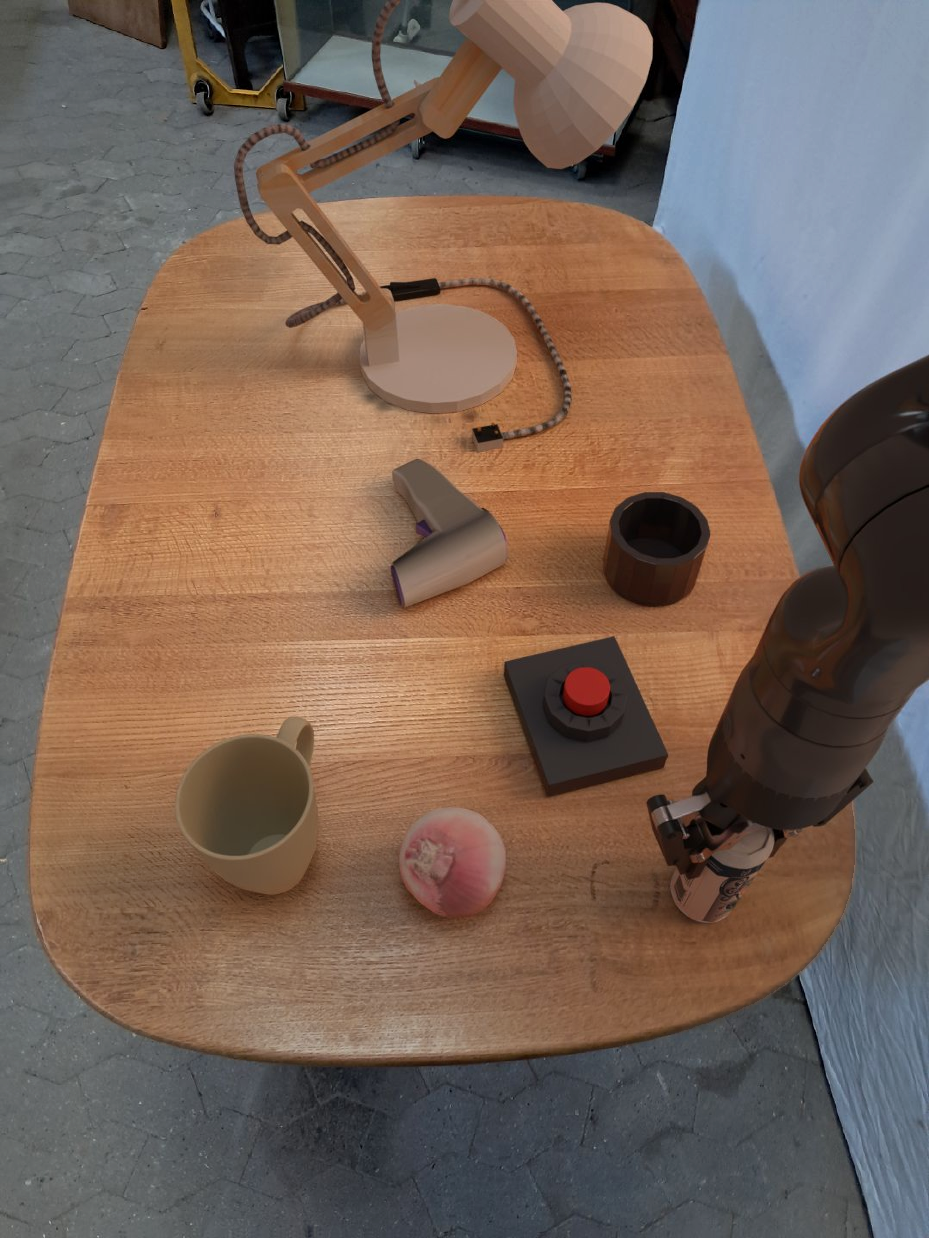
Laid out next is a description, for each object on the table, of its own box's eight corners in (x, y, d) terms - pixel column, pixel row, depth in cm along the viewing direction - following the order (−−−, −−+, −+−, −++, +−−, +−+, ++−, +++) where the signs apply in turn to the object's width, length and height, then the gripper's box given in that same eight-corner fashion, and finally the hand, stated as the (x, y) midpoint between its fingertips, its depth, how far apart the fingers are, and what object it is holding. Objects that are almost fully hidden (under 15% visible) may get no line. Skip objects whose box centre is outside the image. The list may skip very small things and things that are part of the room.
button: (614, 710, 73) (616, 699, 71) (571, 721, 72) (573, 709, 71) (598, 674, 75) (600, 662, 73) (556, 684, 74) (558, 672, 73)
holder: (715, 569, 86) (729, 526, 81) (657, 623, 82) (669, 581, 77) (641, 521, 90) (651, 477, 85) (583, 570, 86) (590, 527, 81)
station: (664, 767, 73) (672, 743, 70) (546, 797, 72) (550, 774, 69) (611, 650, 80) (617, 623, 77) (503, 675, 79) (504, 649, 76)
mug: (360, 894, 67) (342, 828, 58) (228, 940, 65) (186, 879, 56) (324, 769, 74) (302, 690, 64) (202, 808, 72) (160, 732, 62)
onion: (381, 865, 69) (373, 826, 63) (462, 807, 71) (461, 765, 66) (445, 950, 65) (442, 917, 59) (527, 886, 68) (533, 848, 62)
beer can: (721, 937, 65) (764, 876, 56) (659, 905, 67) (690, 840, 57) (743, 880, 68) (788, 812, 58) (683, 850, 69) (717, 779, 60)
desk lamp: (646, 421, 98) (730, -1, 66) (298, 484, 93) (206, 58, 61) (559, 265, 116) (593, -128, 84) (264, 310, 111) (178, -91, 78)
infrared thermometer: (430, 480, 94) (516, 565, 86) (328, 530, 90) (408, 623, 82) (427, 446, 91) (516, 530, 83) (320, 496, 87) (403, 590, 79)
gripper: (699, 828, 45) (645, 937, 58) (956, 759, 47) (847, 879, 60) (642, 702, 49) (604, 831, 63) (880, 644, 51) (793, 781, 65)
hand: (724, 854), depth 61 cm, fingers closed on beer can, 4 cm apart
